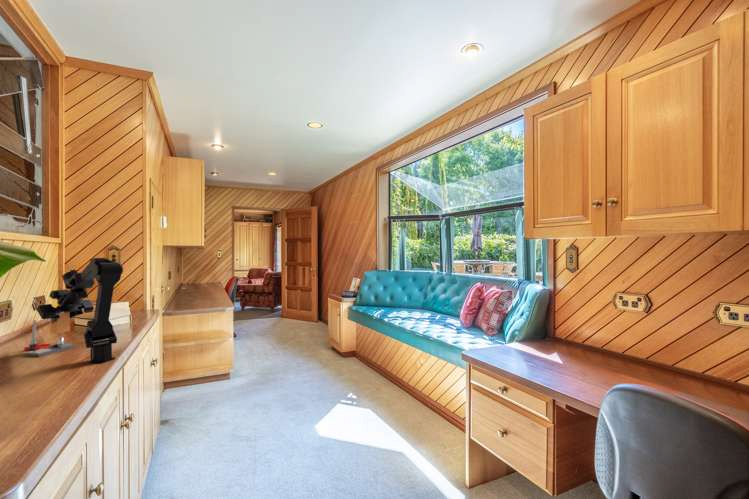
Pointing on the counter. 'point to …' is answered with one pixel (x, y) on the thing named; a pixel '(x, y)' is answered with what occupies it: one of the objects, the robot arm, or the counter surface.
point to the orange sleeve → (61, 323)
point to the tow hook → (33, 340)
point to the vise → (51, 348)
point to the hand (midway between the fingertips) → (58, 321)
